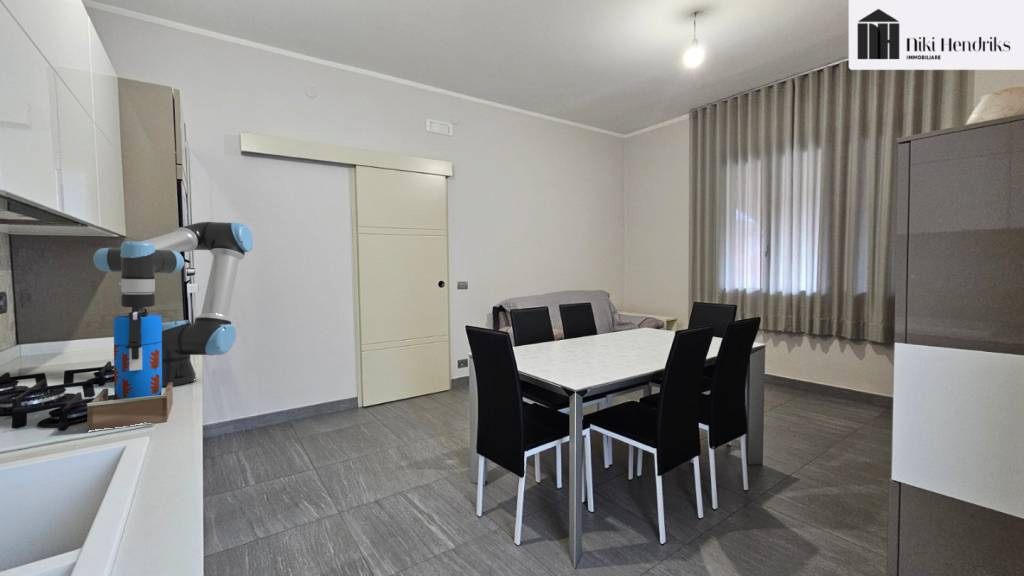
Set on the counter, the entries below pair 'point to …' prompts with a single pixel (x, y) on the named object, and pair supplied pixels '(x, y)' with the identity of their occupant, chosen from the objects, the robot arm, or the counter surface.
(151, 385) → the thermos
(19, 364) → the counter surface
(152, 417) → the wooden frame
